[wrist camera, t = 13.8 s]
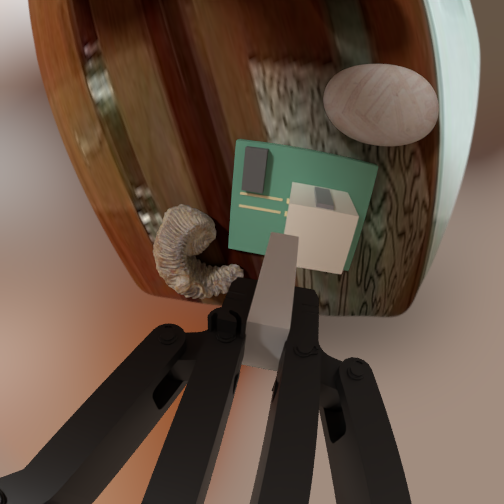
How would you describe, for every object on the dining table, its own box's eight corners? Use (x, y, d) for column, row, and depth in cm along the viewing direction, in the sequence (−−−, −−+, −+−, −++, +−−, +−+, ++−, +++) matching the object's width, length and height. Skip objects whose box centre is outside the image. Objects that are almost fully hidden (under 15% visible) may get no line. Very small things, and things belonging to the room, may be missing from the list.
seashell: (190, 187, 38) (131, 208, 31) (245, 197, 33) (182, 224, 26) (199, 267, 45) (151, 296, 38) (248, 288, 39) (199, 327, 32)
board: (230, 243, 37) (221, 260, 33) (238, 139, 30) (228, 144, 26) (347, 266, 35) (350, 284, 32) (375, 164, 28) (385, 172, 24)
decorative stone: (324, 140, 28) (327, 146, 24) (318, 64, 24) (320, 56, 19) (428, 147, 25) (446, 155, 21) (426, 74, 21) (444, 71, 17)
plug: (283, 232, 33) (279, 263, 27) (292, 178, 29) (290, 199, 24) (335, 241, 32) (341, 274, 26) (348, 189, 29) (359, 212, 23)
